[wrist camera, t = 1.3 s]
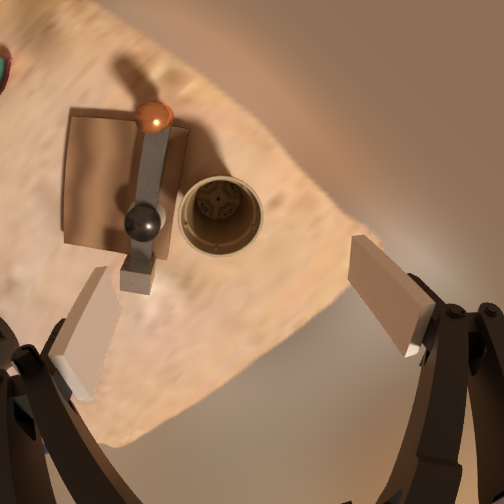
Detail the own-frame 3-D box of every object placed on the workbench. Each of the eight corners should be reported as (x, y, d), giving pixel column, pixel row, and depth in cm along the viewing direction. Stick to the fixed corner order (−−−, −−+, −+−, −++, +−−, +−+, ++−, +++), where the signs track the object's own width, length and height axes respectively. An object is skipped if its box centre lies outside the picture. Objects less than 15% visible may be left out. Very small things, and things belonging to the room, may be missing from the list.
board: (69, 237, 39) (63, 243, 37) (77, 116, 31) (71, 116, 30) (168, 253, 42) (166, 260, 40) (189, 128, 35) (188, 129, 33)
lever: (156, 275, 41) (148, 308, 34) (125, 270, 40) (112, 302, 33) (183, 107, 32) (177, 104, 25) (147, 102, 31) (131, 99, 24)
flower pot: (170, 209, 40) (162, 233, 32) (205, 150, 37) (205, 159, 29) (228, 240, 43) (234, 270, 35) (265, 186, 40) (280, 204, 32)
